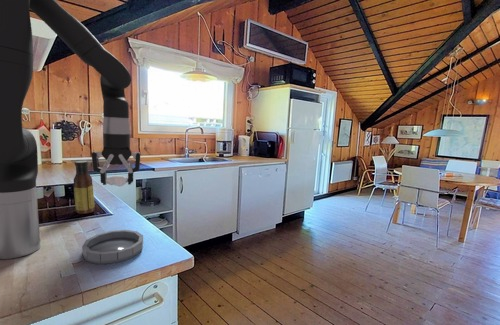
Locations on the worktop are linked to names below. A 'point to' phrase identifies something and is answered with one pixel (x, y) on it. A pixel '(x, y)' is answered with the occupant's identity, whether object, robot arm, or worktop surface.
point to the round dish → (112, 246)
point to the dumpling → (117, 180)
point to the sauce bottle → (83, 189)
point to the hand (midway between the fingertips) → (117, 184)
